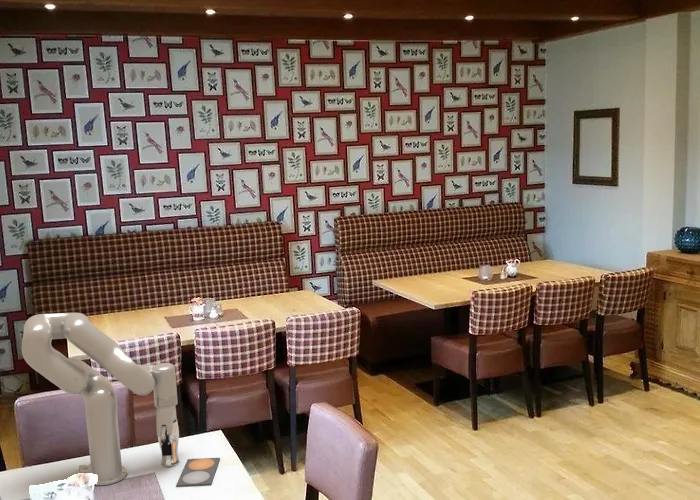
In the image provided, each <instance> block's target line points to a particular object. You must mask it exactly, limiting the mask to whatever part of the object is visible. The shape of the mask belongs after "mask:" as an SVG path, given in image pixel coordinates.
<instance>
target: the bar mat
mask: <svg viewBox="0 0 700 500" xmlns="http://www.w3.org/2000/svg"><path fill="white" fill-rule="evenodd" d="M220 461H221V457H208V458H207V457H204V458H187V459H186V463H185V465H184V467H183V469H182V471H181V472H180V475H179V478H178V480H177V482H176V484H175V487H176V488H182V487H201V486H202V487H204V486H212V483H213V481H214V478H215V475H216V472H217V470H218V467H219V463H220Z"/></svg>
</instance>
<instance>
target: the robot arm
mask: <svg viewBox="0 0 700 500" xmlns="http://www.w3.org/2000/svg"><path fill="white" fill-rule="evenodd" d="M59 339H66V340H67V341H68V342H69V343H70V344H72V345H73V346H74V347H76V348H77V349H79V350H80V351H81V352H82V353H83V354H85V355H86V356H88V357H89V358H90V359H92V360H93V361H94V362H95V363H97V364H98V365H99V366H100V367H101V368H102V369H104V370H105V371H106V372H107V373H109V374H110V375H111V376H112V377H114V378H115V379H116V380H117V381H118V382H119V383H121V385H123V386H124V387H126V388H127V389H128V390H130V391H131V392H133V393H134V394H136V395H138V396H147V395H149V394H151V393H152V391H153V403H154V407H155V408H156V411H155V413H156V415H155V418H156V423H155V424H156V436H157V438H158V437H159V436H160V435H161V447H162V453H161V457H162V456H171V455H172V446H171V444H170V436H171V435H172V432H173V423H175V422H176V419H177V408H176V406H177V405H178V392H177V391H178V390H177V376H176V367H175V365H174V364H172V363H170V362H161V363H157V364H140V365H139V364H137V363H136V362H135V361H133V360H132V358H131V357H129V355H127V353H126V352H125V351H124V350H123V349H122V347H121V346H120V345H119V344H118V342H116V341H115V340H113V339H112V337H110V336H108V335H107V334H106V333H104V332H103V331H102V330H101V329H99V328H98V327H97V326H96V325H95V324H93V323H92V322H91V321H90V319H89V318H88V317H87V315H85V314H84V313H82V312H61V313H60V312H59V313H56V312H55V313H40V314H35V315H32V316H31V317H29V318H28V319H27V320H26V321H25V323H24V325H23V336H22V341H21V354H22V357H23V359H24V361H25V362H26V364H27V365H29V367H30V368H32V369H33V370H34V371H35V372H37V373H39V374H40V375H41V376H43V378H45V379H46V380H48V381H49V382H50V383H52V384H54V385H55V386H56V387H58V388H59V389H60V390H62V391H63V392H64V393H66V394H68V395H78V396H80V398H82V399H83V400H84V406H85V407H84V409H85V419H86V431H87V439H88V449H89V450H88V451H89V460H90V463H89V464H79V465H78V472H79V473H84V474H87V473H93V474H97V475H98V482H97V485H96V486H107V485H112V484H115V483H118V482H120V481H122V480H124V479H125V478H126V477H127V476H128V469H127V468H126V467H125V466H123V464H122V454H121V444H120V443H121V442H120V441H121V440H120V431H119V423H118V422H119V420H118V399H117V394H116V391H115V390H114V387H113V385H112V383H111V382H110V380H109V379H108V378H107V377H106V376H104V375H102V374H101V373H100V372H98V371H97V370H95V368H93V367H92V366H90V365H89V364H87V362H85V361H83V360H81V359H79V358H75V357H70V358H68V357H66V356H65V355H64V354H63V353H62V352H60V351H58V350H57V349H55V348H54V347H53V346H52V340H59ZM177 420H178V419H177ZM166 431H167V432H168V433H169V435H166ZM161 432H162V433H161ZM166 437H168V440H167V439H166Z"/></svg>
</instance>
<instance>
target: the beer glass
mask: <svg viewBox="0 0 700 500" xmlns="http://www.w3.org/2000/svg"><path fill="white" fill-rule="evenodd" d="M161 433H162V432H161ZM166 435H169V433H168V432H167V431H166ZM179 438H180V430H179V424H178V419H176V422H175V423H173V432H172V435H171V436H170V444H171V446H172V455H171V456H162V455H161V461H160V465H161V466H162V467H163V468H173V467H176V466H177V465H179V464H180V458H179V453H178V451H179V442H180V441H179ZM157 439H158V444H159V447H160V453H161V454H162V447H161V435H160V436H159V437H158V436H157ZM166 439H167V440H168V437H166Z"/></svg>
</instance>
